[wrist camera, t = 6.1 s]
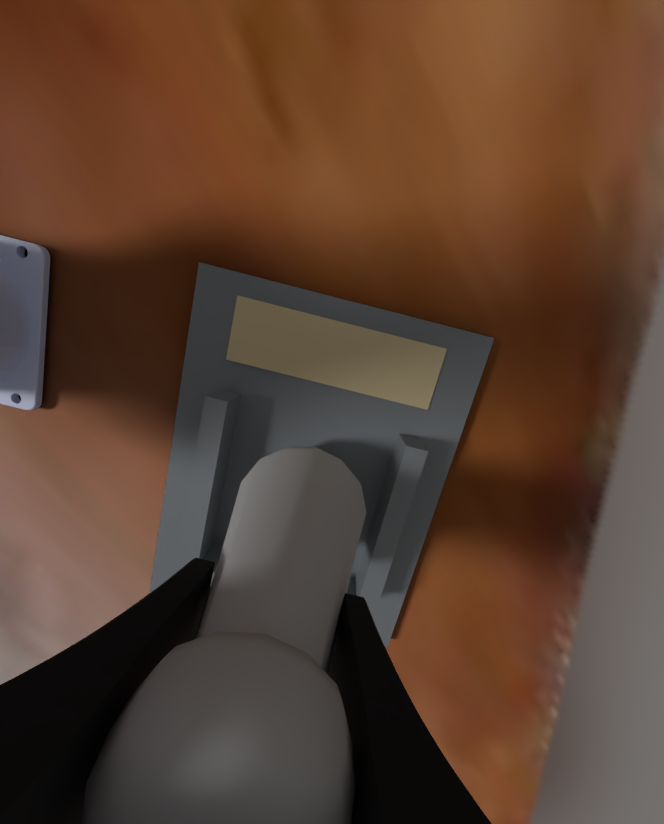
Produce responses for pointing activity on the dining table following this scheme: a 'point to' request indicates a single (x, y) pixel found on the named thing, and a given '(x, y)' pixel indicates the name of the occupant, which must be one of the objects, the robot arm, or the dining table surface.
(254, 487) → the salt shaker
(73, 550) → the dining table surface
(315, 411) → the stand
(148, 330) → the dining table surface
